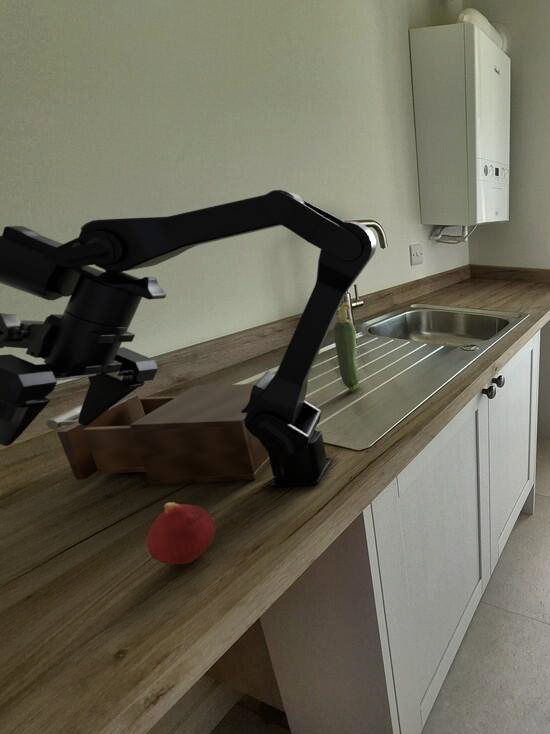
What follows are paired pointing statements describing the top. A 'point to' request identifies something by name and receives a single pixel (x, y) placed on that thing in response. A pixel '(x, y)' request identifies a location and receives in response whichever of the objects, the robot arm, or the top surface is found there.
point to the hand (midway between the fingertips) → (46, 433)
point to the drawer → (105, 437)
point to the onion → (180, 534)
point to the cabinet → (200, 438)
